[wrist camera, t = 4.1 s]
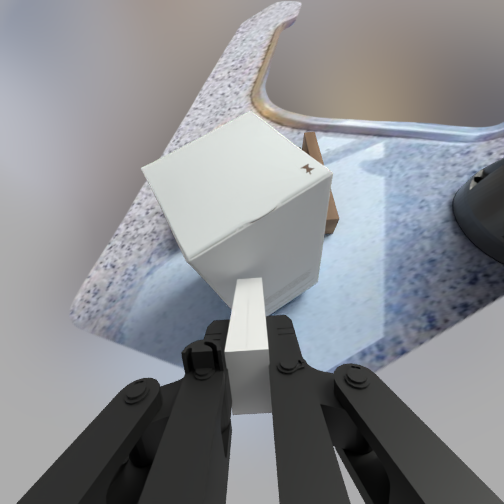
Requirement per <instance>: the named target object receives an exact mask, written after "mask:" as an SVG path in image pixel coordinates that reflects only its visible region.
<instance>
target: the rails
mask: <svg viewBox="0 0 504 504" xmlns="http://www.w3.org/2000/svg"><path fill="white" fill-rule="evenodd" d="M190 143H191V142H190ZM302 150H303V151H304V152H305V153H307V154H308V155H309V156H311V157H312V158H314V159H315V160H316V161H318V162H319V163H321V164H322V165H323V166H324V163H323V160H322V156H321V153H320V149H319V146H318V142H317V139H316V135H315V132H307V133H304V138H303V145H302ZM338 221H339V216H338V213H337V209H336V206H335V202H334V199H333V195H332V192H331V190H330V197H329V204H328V211H327V218H326V226H325V233H324V234H333V232H334V230H335V227H336V225H337V223H338Z"/></svg>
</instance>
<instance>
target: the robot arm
mask: <svg viewBox="0 0 504 504" xmlns="http://www.w3.org/2000/svg"><path fill="white" fill-rule="evenodd" d="M453 208H454V214H455V217H456V220H457V222H458V224H459V226H460V227H461V229H462V230H463V232H464V233H465V234H466V235H467V237H468V238H469V239H470V240H471V241H472V242H473V243H474V244H475V245H476V246H478V247H479V248H480V249H481V250H482V251H484V252H485V253H487V254H488V255H489V256H491V257H492V258H494V259H496V260H497V261H499V262H501V263H503V264H504V158H502V159H500V160H498V161H496V162H495V163H493V164H491V165H489V166H487V167H486V168H484V169H482V170H480V171H479V172H477V173H476V174H474V175H473V176H472V177H471V178H470V179H469V180H468V181H467V182H466V183H465V184H464V185H463V186H462V187H461V188H460V189H459V190H458V192H457V193H456V195H455V198H454V203H453ZM181 354H182V359H183V364H184V370H185V376H184V378H182V379H180V380H178V381H176V382H174V383H170V384H167V385H164V386H161V387H160V384H159V383H158V381H157V380H155V379H153V378H143V379H139V380H136V381H134V382H132V383H130V384H129V385H127V386H126V387H125V388H123V389H122V390H121V391H120V392H119V393H118V394H117V395H116V396H115V398H113V400H112V401H111V402H110V403H109V404H108V405H107V406H106V407H105V409H103V411H101V413H100V414H99V415H98V416H97V417H96V418H95V419H94V420H93V421H92V422H91V424H89V426H88V427H87V428H86V429H85V430H84V431H83V432H82V433H81V434H80V435H79V436H78V437H77V439H76V440H75V441H74V442H73V443H72V444H71V445H70V446H69V447H68V448H67V449H66V450H65V452H64V453H63V454H62V455H61V456H60V457H59V458H58V459H57V460H56V461H55V462H54V463H53V465H52V466H51V467H50V468H49V469H48V470H47V471H46V472H45V473H44V474H43V475H42V477H41V478H40V479H39V480H38V481H37V482H36V483H35V484H34V485H33V486H32V487H31V488H30V490H29V491H28V492H27V493H26V494H25V495H24V496H23V497H22V498H21V499H20V500H19V501H18V502H17V504H226V493H227V481H228V470H229V459H230V447H231V435H232V427H231V419H230V417H231V408H232V413H233V415H240V414H257V413H272V415H273V427H274V441H275V453H276V465H277V477H278V489H279V502H280V504H350V500H349V497H348V494H347V490H346V487H345V484H344V481H343V478H342V474H341V471H340V468H339V464H338V461H337V458H336V454H335V451H334V448H333V446H335V448H336V451H337V453H338V454H339V456H340V458H341V460H342V462H343V463H344V465H345V467H346V469H347V471H348V472H349V474H350V476H351V478H352V480H353V482H354V483H355V485H356V487H357V489H358V491H359V493H360V495H361V496H362V498H363V500H364V502H365V504H504V503H503V502H502V501H501V499H499V497H497V495H495V493H494V492H493V491H492V490H490V488H488V487H487V485H486V484H485V483H484V482H483V481H482V480H481V479H479V477H477V475H476V474H475V473H474V472H473V471H472V470H471V469H470V468H468V466H467V465H466V464H465V463H464V462H463V461H462V460H461V459H460V458H459V457H457V455H456V454H455V453H454V452H453V451H452V450H451V449H450V448H449V447H448V446H447V445H446V444H445V443H444V442H443V441H442V440H441V439H440V438H439V437H438V436H437V435H436V434H435V433H434V432H432V430H431V429H430V428H429V427H428V426H427V425H426V424H424V422H423V421H422V420H421V419H420V418H419V417H418V416H417V415H416V414H415V413H414V412H413V411H412V410H411V409H410V408H409V407H408V406H407V405H406V404H405V403H404V402H403V401H402V400H401V399H400V398H399V397H397V395H396V394H395V393H394V392H393V391H392V390H391V389H390V388H389V387H388V386H387V385H386V384H385V383H384V382H383V381H382V380H381V379H380V378H379V377H378V376H377V375H376V374H375V373H373V372H372V371H371V370H369V369H368V368H366V367H363V366H361V365H357V364H343V365H341V366H339V367H337V369H336V370H335V371H334V374H333V373H328V372H323V371H319V370H316V369H314V368H312V367H311V366H309V365H308V364H307V363H306V361H305V360H304V359H303V357H302V354H301V351H300V348H299V344H298V341H297V337H296V334H295V330H294V327H293V323H292V320H291V319H290V318H288V317H287V316H286V315H277V316H265V306H264V296H263V285H262V277H260V278H247V279H237V284H236V289H235V295H234V301H233V306H232V312H231V318H230V320H217V321H213V322H212V323H211V324H210V325H209V326H208V327H207V330H206V334H205V337H204V340H198V341H196V342H193V343H191V344H190V345H188V346H187V347H186V348H185V349H184V350H183V351H182V353H181Z"/></svg>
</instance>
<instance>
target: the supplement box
mask: <svg viewBox="0 0 504 504" xmlns="http://www.w3.org/2000/svg"><path fill="white" fill-rule="evenodd" d="M141 170H142V172H143V173H144V175H145V177H146V179H147V181H148V183H149V185H150V187H151V189H152V191H153V193H154V195H155V197H156V199H157V201H158V203H159V205H160V207H161V209H162V211H163V213H164V215H165V218H166V220H167V222H168V224H169V226H170V229H171V231H172V233H173V235H174V237H175V239H176V241H177V243H178V246H179V248H180V250H181V252H182V254H183V256H184V258H185V260H186V262H187V263H188V264H190V265H191V266H192V267H193V268H194V269H195V270H196V271H197V272H198V273H199V275H200V276H201V277H202V278H203V279H204V280H205V281H206V282H207V283H208V284H209V285H210V286H211V288H212V289H213V290H214V291H215V292H216V293H217V294H218V295H219V296H220V298H221V299H222V300H223V301H224V302H225V303H226V304H227V305H228V306H229V307H230V309H231V310H232V306H233V301H234V295H235V289H236V284H237V279H247V278H260V277H262V285H263V296H264V306H265V316H269V315H270V314H272V313H273V312H275V311H276V310H278V309H279V308H281V307H282V306H284V305H285V304H287V303H288V302H290V301H291V300H293V299H294V298H296V297H297V296H299V295H300V294H302V293H303V292H305V291H306V290H308V289H309V288H311V287H312V286H313V285H315V284H316V283H317V282H318V277H319V270H320V263H321V256H322V248H323V241H324V233H325V226H326V218H327V211H328V204H329V197H330V190H331V183H332V176H333V172H331V171H330V170H329V169H328V168H326V167H325V166H323V165H322V164H321V163H319V162H318V161H316V160H315V159H314V158H312V157H311V156H309V155H308V154H307V153H305V152H304V151H303V150H301V149H300V148H299V147H297V146H296V145H295V144H293V143H292V142H291V141H289V140H288V139H287V138H285V137H284V136H283V135H281V134H280V133H279V132H278V131H276V130H275V129H274V128H273V127H271V126H270V125H269V124H268V123H266V122H265V121H264V120H263V119H261V118H260V117H259V116H257V115H256V114H254V113H253V112H251V111H249V112H247V113H245V114H243V115H241V116H240V117H238V118H236V119H234V120H232V121H230V122H228V123H226V124H224V125H223V126H221V127H219V128H217V129H215V130H213V131H211V132H209V133H207V134H206V135H204V136H202V137H200V138H198V139H196V140H194V141H192V142H191V143H189V144H187V145H185V146H183V147H181V148H179V149H177V150H175V151H173V152H172V153H170V154H168V155H166V156H164V157H162V158H160V159H158V160H156V161H154V162H153V163H150V164H148V165H146V166H144V167H142V168H141Z"/></svg>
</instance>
